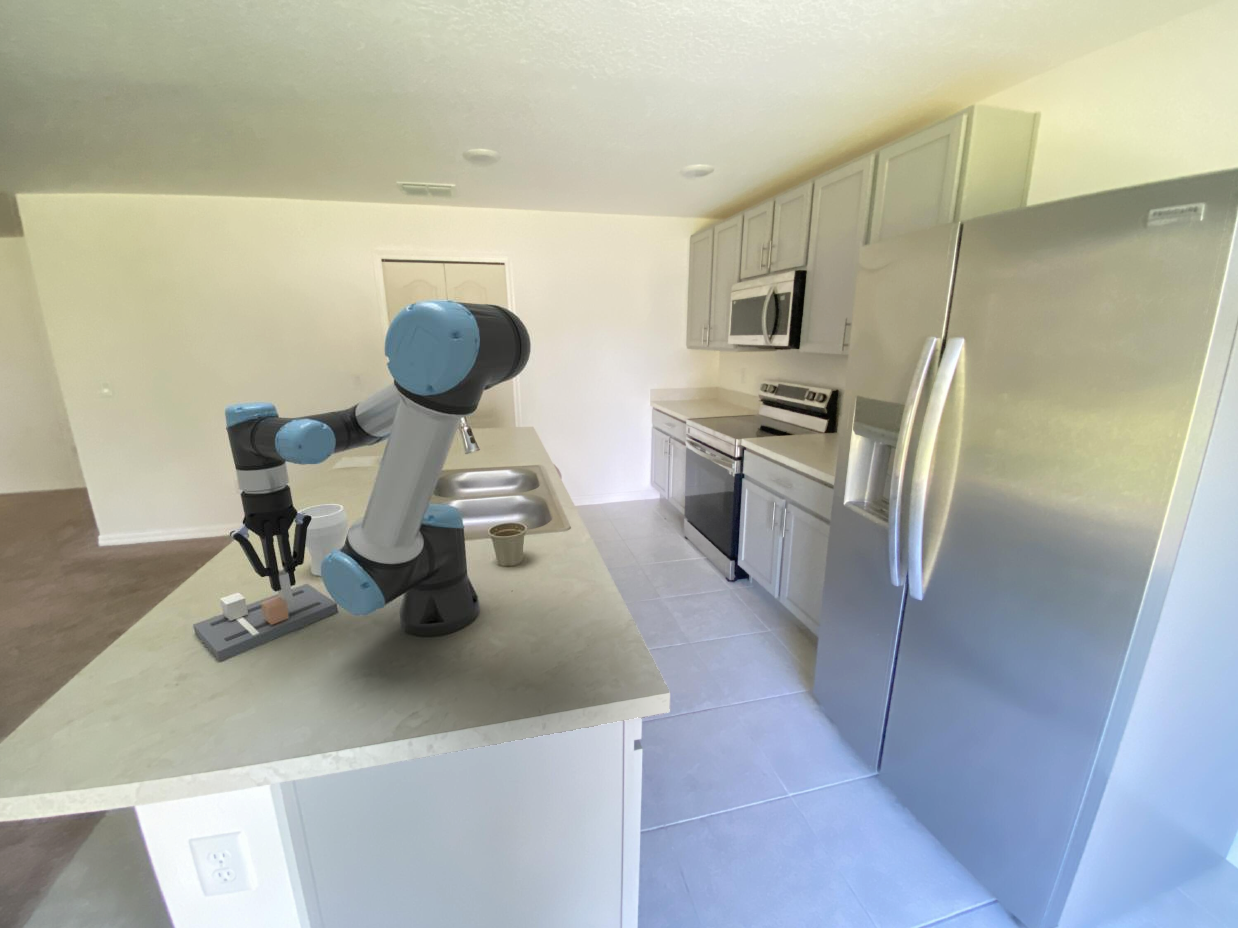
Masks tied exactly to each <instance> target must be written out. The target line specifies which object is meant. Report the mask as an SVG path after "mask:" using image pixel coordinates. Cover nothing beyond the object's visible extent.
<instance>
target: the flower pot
mask: <svg viewBox="0 0 1238 928" xmlns="http://www.w3.org/2000/svg"><path fill="white" fill-rule="evenodd" d="M527 530H528V527H527V526H526V525H525V524H523V523H520V522H502V523H498V524H495V525H492V526H491V527H489V529H487V533H488V536H489V537H490V539H491V542H492V546H493V550H494V554H495V558H496V563H497V564H498V565H500V566H502V567H507V566H511V567H513V566H516V565H518V564H521V562H522V561H523V558H524V557H523V556H524V555H523V554H524V544H525V543H524V542H525V541H524V540H525V536H526V532H527Z"/></svg>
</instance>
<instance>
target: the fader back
mask: <svg viewBox="0 0 1238 928" xmlns="http://www.w3.org/2000/svg"><path fill="white" fill-rule="evenodd" d="M219 601H220V604H221V605H220V607H221V610H222V614H223V615H224V616H225V617H226V618H227V619H228V620H229V621H231V620H234V619H237V618H239V617H242V616H245V615H247V614H248V610H247V606H246V605H247V602H246V597H244V596H243V595H242V594H241V593H239V592H236V593H232V594H230V595H227V596H224V597H221V598H219Z"/></svg>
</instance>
